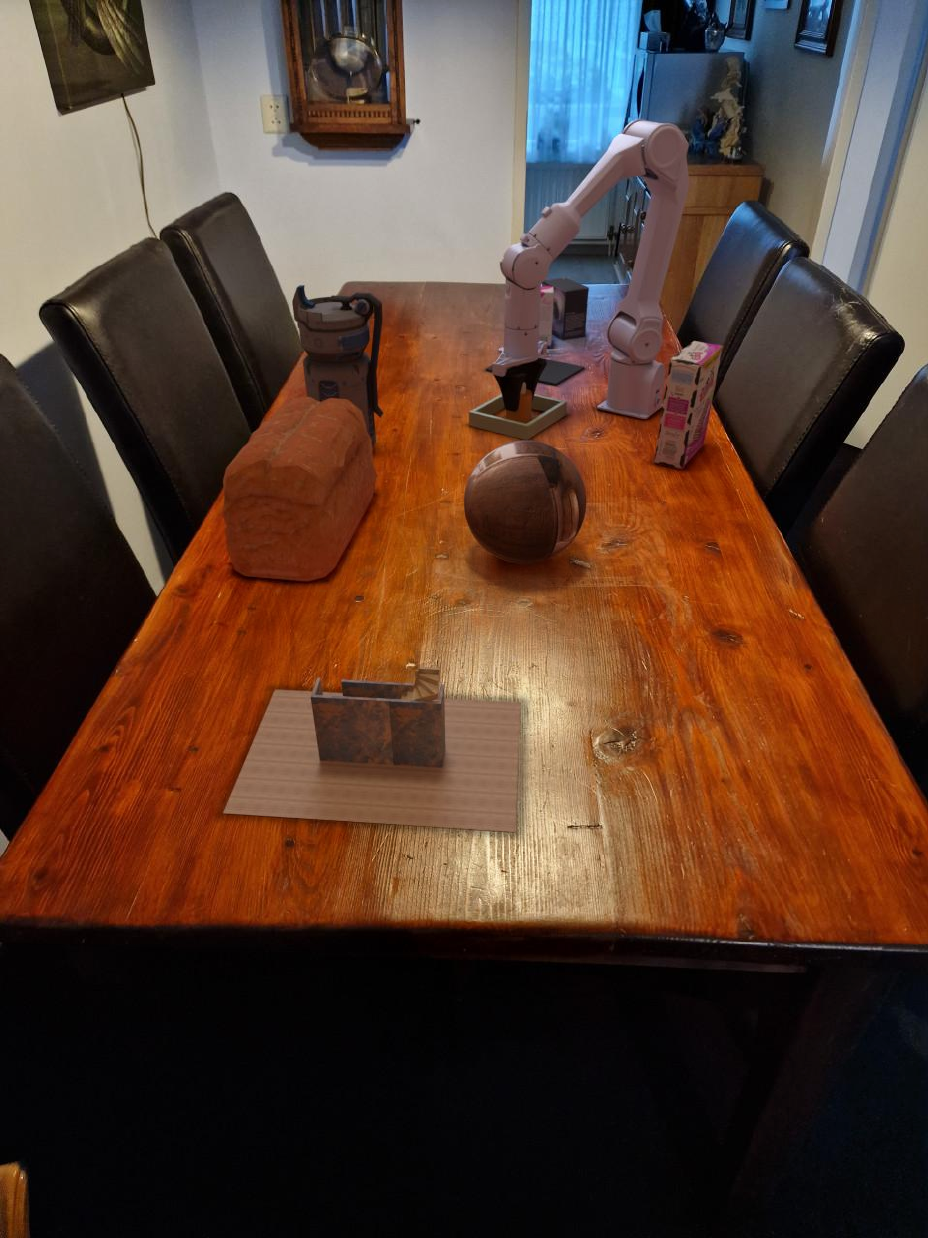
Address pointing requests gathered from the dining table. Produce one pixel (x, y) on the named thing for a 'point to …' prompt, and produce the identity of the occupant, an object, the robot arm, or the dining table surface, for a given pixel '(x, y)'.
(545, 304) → the supplement box
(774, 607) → the dining table surface
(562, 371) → the mat
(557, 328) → the small box
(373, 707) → the architectural model on board
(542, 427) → the square frame
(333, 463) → the bread
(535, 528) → the wooden sphere
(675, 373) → the candy bar box
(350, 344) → the grenade canister
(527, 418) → the bottle
